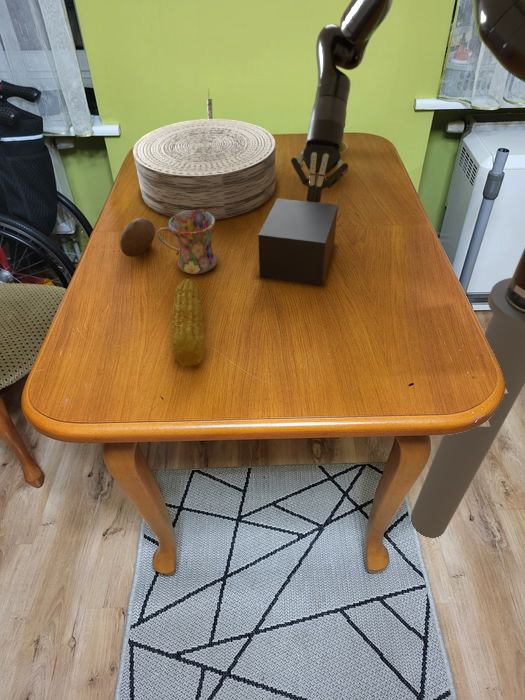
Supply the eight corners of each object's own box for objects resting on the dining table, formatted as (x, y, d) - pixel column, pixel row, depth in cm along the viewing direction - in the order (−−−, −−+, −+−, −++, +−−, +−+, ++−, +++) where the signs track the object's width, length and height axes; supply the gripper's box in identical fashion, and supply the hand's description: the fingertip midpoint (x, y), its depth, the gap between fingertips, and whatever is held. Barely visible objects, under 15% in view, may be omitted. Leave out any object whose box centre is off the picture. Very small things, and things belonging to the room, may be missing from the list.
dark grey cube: (277, 238, 106) (277, 198, 99) (334, 246, 103) (338, 204, 96) (259, 277, 96) (258, 234, 89) (322, 286, 93) (325, 243, 86)
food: (209, 369, 78) (205, 343, 74) (174, 374, 78) (168, 347, 73) (201, 291, 93) (197, 265, 89) (172, 294, 92) (167, 268, 88)
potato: (162, 236, 108) (157, 207, 103) (149, 266, 99) (143, 236, 94) (133, 235, 108) (126, 207, 103) (117, 265, 100) (109, 235, 95)
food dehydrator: (273, 220, 111) (273, 143, 99) (127, 220, 113) (109, 144, 101) (277, 153, 138) (276, 85, 126) (159, 153, 140) (147, 87, 128)
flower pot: (309, 164, 133) (310, 137, 128) (346, 166, 131) (349, 139, 126) (304, 180, 126) (305, 152, 121) (343, 182, 124) (346, 155, 119)
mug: (220, 252, 102) (215, 208, 95) (218, 277, 96) (213, 232, 89) (166, 254, 102) (158, 210, 95) (161, 279, 96) (151, 234, 89)
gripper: (294, 114, 101) (279, 197, 102) (357, 119, 98) (341, 204, 99) (299, 130, 108) (285, 206, 109) (358, 135, 106) (343, 214, 107)
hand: (312, 205), depth 104 cm, fingers closed
